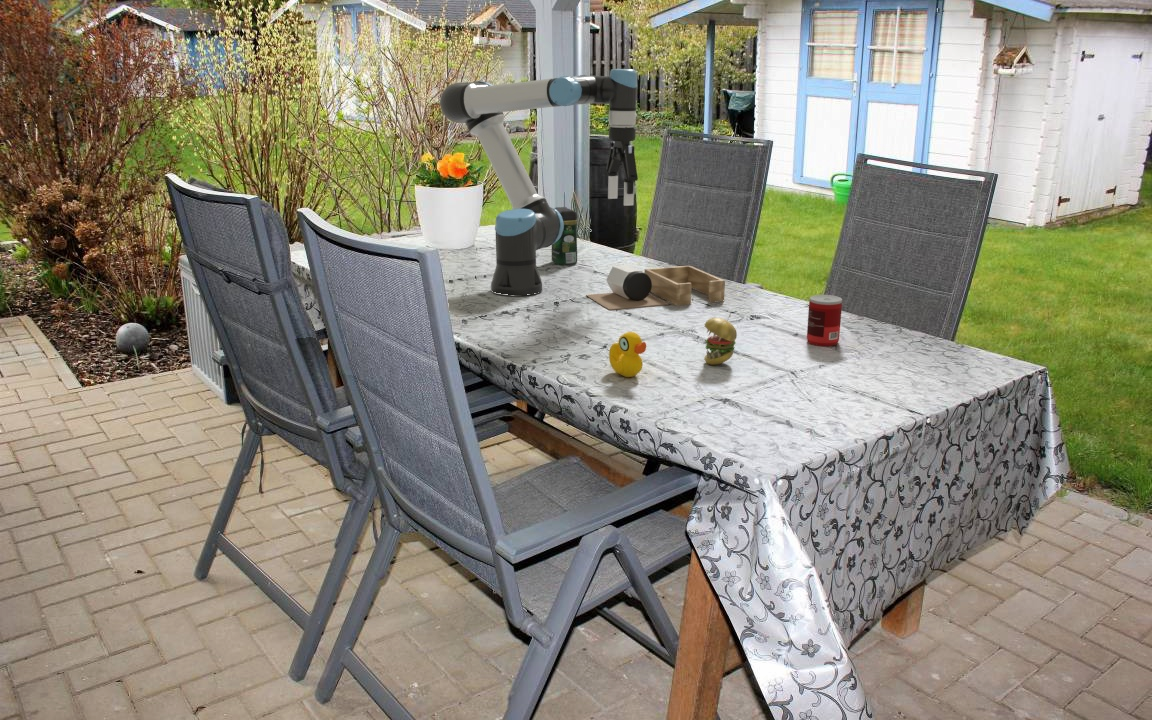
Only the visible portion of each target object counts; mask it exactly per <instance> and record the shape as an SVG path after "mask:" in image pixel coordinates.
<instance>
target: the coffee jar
mask: <svg viewBox="0 0 1152 720" xmlns="http://www.w3.org/2000/svg"><path fill="white" fill-rule="evenodd" d="M554 209H556V210H557V211H558V212H559V213H560V214H561V216H562V219H563V223H564V228H563V232H562V235H561V237H560V239H559V240H558V241H557V242H556V243H554V244H552V245H551V261H552V263H554V264H556V265H558V266H559V265H560V266H572V265H574V264H577V263H578V237H577V235H578V234H577V233H578V232H577V231H578V212H577V211H575V210H573V209H571V208H568V207H567V206H561V207H560V206H558V207H557V206H556V207H554Z"/></svg>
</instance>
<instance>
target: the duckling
mask: <svg viewBox="0 0 1152 720" xmlns="http://www.w3.org/2000/svg"><path fill="white" fill-rule="evenodd" d="M646 349H647V343H646V342H645V341H643V340H642V338H641V336H640V335H639V333H636V332H635V331H627V332H625V333H623V334H622V335H621V336H619V337H618V342H614V343H612V344H611V346H610V347H609V354H608V355H609V356H608V358H609V360H608V361H609V363H610V366H611V368H612V369H613V371H615V373H617V374H619V375H621V376H623V377H626V378H632V377H635V376H636V375H638V374H639V373H640V372H641V371H642V369H643V365H644V364H643V359H642V357H641V356H640V355H641V354H643V353H645V352H646Z"/></svg>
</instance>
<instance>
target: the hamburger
mask: <svg viewBox="0 0 1152 720" xmlns="http://www.w3.org/2000/svg"><path fill="white" fill-rule="evenodd" d="M731 315H732V312H730V313H729V315H728V318H727V320H726V319H723V318H722V317H712V318H708V320H707V321H705V323H704V328H705V329H707V331H706V334H707V335H708V337H707V339H705V340H704V341H705V342H706V345H705V349H706V350H707V351H706V355H704V358H703V360H704V361H705V363H706V364H708V365H710V366H715V365H721V364H723V363H725V362H727V361H729V360H730V359H731V358H732V356H733V355H734V351H735V347H736V346H735V345H736V343H737V342H736V339H737V336H738V334H737V330H736V328H735V326H734V325H733V324H732V323H731V322H729V321H728V320H729V318H731ZM708 332H709V333H708ZM712 333H713V335H711V334H712Z"/></svg>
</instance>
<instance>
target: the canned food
mask: <svg viewBox="0 0 1152 720" xmlns="http://www.w3.org/2000/svg"><path fill="white" fill-rule="evenodd" d="M842 309H843V298H842V297H840V296H837V295H834V294H833V295H832V294H831V295H830V294H815V295H811V296H810V297H809V302H808V313H807V329H806V341H807V342H808V343H809V345H812V346H816V347H832V346H833V345H834V346H835V345H837V344H838V343H839V341H840V332H841V323H842Z"/></svg>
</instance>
